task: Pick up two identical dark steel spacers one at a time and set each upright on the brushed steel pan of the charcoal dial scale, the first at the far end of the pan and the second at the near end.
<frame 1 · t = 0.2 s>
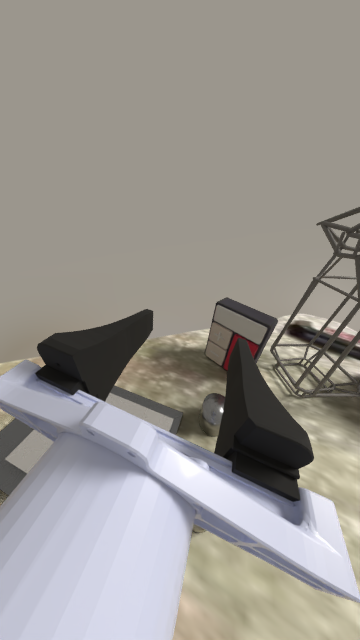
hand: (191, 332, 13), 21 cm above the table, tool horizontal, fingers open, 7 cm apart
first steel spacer: (211, 421, 28), on the table
grey and red box: (225, 364, 39), on the table
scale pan: (99, 437, 23), point 2 cm above the table, slide at 0.0 cm
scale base: (91, 437, 25), on the table
geometric lantern: (298, 379, 37), on the table
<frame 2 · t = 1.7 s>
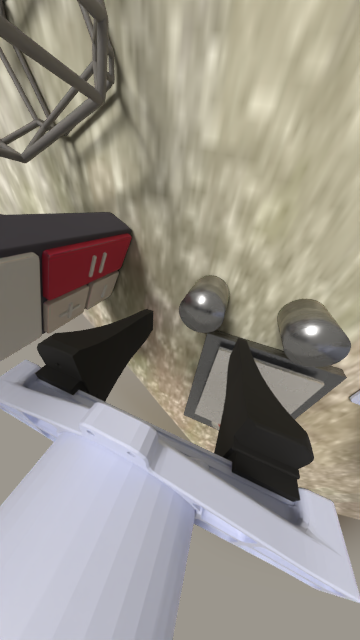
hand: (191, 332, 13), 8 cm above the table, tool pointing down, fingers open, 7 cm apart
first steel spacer: (210, 293, 20), on the table
grey and red box: (111, 259, 22), on the table
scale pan: (242, 401, 25), point 2 cm above the table, slide at 0.0 cm
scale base: (238, 395, 28), on the table
geometric lantern: (63, 48, 13), on the table
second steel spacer: (300, 317, 18), on the table
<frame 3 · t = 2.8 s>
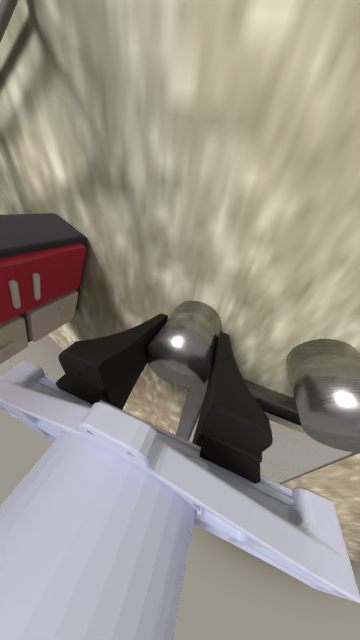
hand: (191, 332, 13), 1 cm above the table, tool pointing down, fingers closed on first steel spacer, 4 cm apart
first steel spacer: (195, 323, 14), on the table, touching gripper
grey and red box: (69, 274, 17), on the table
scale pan: (239, 450, 20), point 2 cm above the table, slide at 0.0 cm
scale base: (235, 437, 23), on the table
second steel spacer: (320, 361, 12), on the table
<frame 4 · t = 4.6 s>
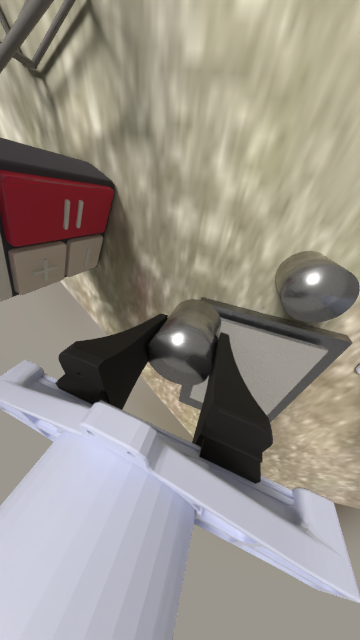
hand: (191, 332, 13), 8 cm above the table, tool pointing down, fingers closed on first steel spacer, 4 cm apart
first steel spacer: (196, 321, 15), point 7 cm above the table, touching gripper
grey and red box: (95, 223, 20), on the table
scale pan: (239, 379, 23), point 2 cm above the table, slide at 0.0 cm
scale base: (235, 375, 26), on the table
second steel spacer: (301, 275, 16), on the table
when the fingers open (5 cm above the table, at t = 6.7 s): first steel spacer drops 1 cm, resting on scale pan.
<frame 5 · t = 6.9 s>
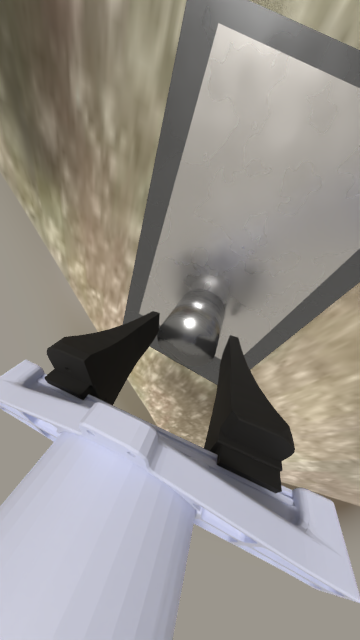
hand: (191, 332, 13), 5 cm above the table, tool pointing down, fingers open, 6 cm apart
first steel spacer: (201, 310, 16), point 2 cm above the table, touching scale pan
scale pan: (228, 266, 13), point 2 cm above the table, slide at 0.6 cm, touching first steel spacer
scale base: (218, 281, 15), on the table
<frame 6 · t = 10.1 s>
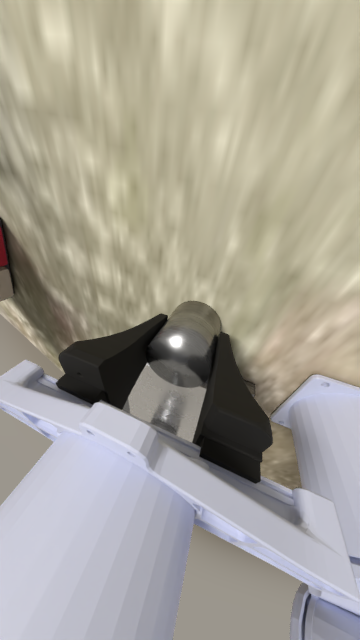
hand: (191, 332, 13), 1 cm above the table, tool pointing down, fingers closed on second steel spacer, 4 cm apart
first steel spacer: (163, 427, 25), point 2 cm above the table, touching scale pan
grey and red box: (1, 254, 19), on the table
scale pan: (167, 412, 22), point 2 cm above the table, slide at 0.6 cm, touching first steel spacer
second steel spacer: (195, 323, 14), on the table, touching gripper
when the fingers open (5 cm above the table, at t = 13.1 s): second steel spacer drops 1 cm, resting on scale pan.
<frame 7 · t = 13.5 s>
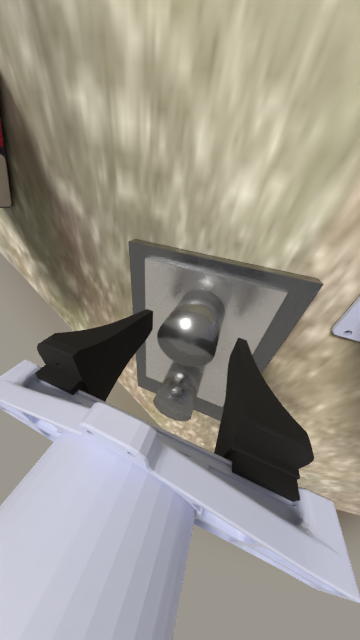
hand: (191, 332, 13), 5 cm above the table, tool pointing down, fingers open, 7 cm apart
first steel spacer: (185, 372, 22), point 2 cm above the table, touching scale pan
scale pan: (192, 347, 19), point 1 cm above the table, slide at 0.6 cm, touching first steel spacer, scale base, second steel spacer
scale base: (193, 350, 21), on the table
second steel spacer: (201, 311, 16), point 2 cm above the table, touching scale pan
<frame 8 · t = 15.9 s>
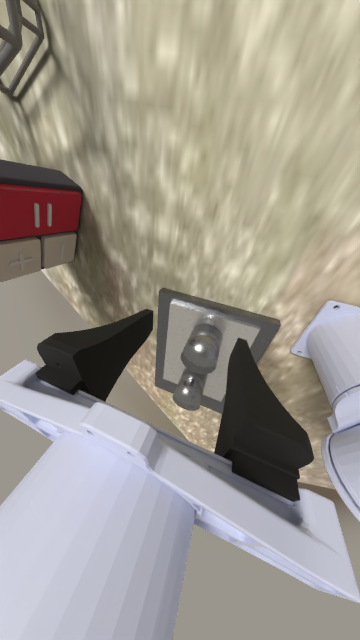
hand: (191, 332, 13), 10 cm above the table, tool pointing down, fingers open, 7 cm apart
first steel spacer: (194, 376, 29), point 2 cm above the table, touching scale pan
grey and red box: (70, 222, 23), on the table
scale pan: (199, 358, 27), point 1 cm above the table, slide at 0.6 cm, touching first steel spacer, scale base, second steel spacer
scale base: (199, 360, 29), on the table
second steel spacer: (206, 336, 23), point 2 cm above the table, touching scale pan
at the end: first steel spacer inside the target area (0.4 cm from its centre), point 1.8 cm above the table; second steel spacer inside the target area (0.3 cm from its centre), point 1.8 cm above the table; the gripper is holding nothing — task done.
